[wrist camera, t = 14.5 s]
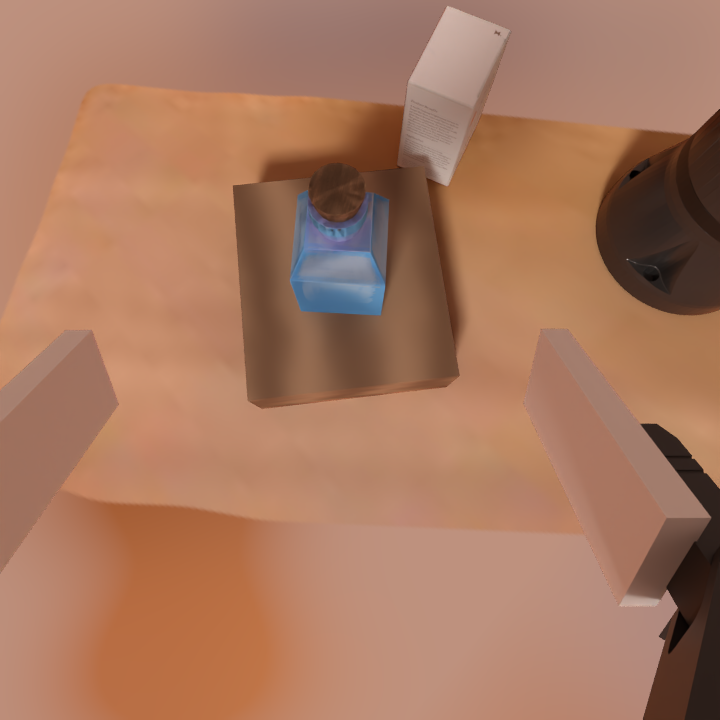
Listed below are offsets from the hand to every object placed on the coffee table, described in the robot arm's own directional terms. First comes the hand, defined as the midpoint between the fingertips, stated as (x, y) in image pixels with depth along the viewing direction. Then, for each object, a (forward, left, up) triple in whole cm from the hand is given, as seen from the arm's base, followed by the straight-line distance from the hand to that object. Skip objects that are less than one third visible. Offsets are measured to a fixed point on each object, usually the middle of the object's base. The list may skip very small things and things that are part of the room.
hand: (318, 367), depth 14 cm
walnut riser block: (0, -12, -27) cm, 29 cm away
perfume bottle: (0, -12, -21) cm, 24 cm away
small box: (-9, -28, -26) cm, 39 cm away
